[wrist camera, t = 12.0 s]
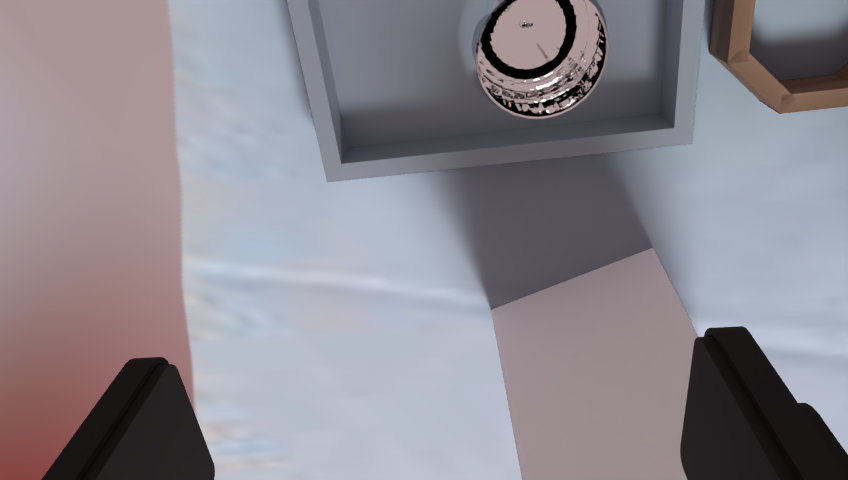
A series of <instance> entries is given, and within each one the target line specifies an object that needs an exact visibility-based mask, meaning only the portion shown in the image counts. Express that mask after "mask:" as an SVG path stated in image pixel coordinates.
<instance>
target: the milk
mask: <svg viewBox="0 0 848 480" xmlns="http://www.w3.org/2000/svg"><path fill="white" fill-rule="evenodd" d="M491 312H492V318H493V323H494V329H495V334H496V340H497V345H498V350H499V356H500V361H501V367H502V372H503V378H504V383H505V389H506V394H507V400H508V405H509V410H510V416H511V421H512V427H513V432H514V438H515V443H516V449H517V454H518V460H519V465H520V471H521V476H522V480H687V477H686V475H685V472H684V469H683V466H682V462H681V456H680V445H681V437H682V430H683V422H684V414H685V407H686V399H687V392H688V384H689V377H690V369H691V362H692V354H693V347H694V341H695V339H696V338H697V337H698V335H697V333H696V331H695V329H694V327H693V325H692V323H691V321H690V319H689V317H688V315H687V313H686V311H685V309H684V307H683V305H682V303H681V302H680V300H679V298H678V296H677V294H676V292H675V290H674V288H673V286H672V284H671V282H670V280H669V278H668V276H667V274H666V272H665V270H664V268H663V266H662V264H661V262H660V261H659V259H658V257H657V255H656V253H655V251H654V249H653V248H650V249H648V250H645V251H643V252H640V253H637V254H635V255H632V256H630V257H627V258H624V259H622V260H619V261H617V262H614V263H611V264H609V265H606V266H603V267H601V268H598V269H596V270H593V271H590V272H588V273H585V274H583V275H580V276H577V277H575V278H572V279H570V280H567V281H564V282H562V283H559V284H557V285H554V286H551V287H549V288H546V289H544V290H541V291H538V292H536V293H533V294H531V295H528V296H525V297H523V298H520V299H518V300H515V301H512V302H510V303H507V304H505V305H502V306H499V307H497V308H494V309H492V310H491Z"/></svg>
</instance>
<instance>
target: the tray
mask: <svg viewBox="0 0 848 480" xmlns="http://www.w3.org/2000/svg"><path fill="white" fill-rule="evenodd" d="M466 1H467V0H287V4H288V8H289V13H290V17H291V22H292V26H293V31H294V35H295V40H296V44H297V49H298V53H299V58H300V62H301V67H302V71H303V76H304V80H305V85H306V89H307V94H308V98H309V103H310V107H311V112H312V116H313V121H314V125H315V130H316V134H317V139H318V143H319V148H320V152H321V157H322V161H323V166H324V170H325V175H326V179H327V182H334V181H344V180H353V179H363V178H372V177H382V176H391V175H401V174H410V173H420V172H430V171H439V170H449V169H458V168H468V167H477V166H487V165H496V164H506V163H515V162H525V161H534V160H544V159H553V158H563V157H572V156H582V155H591V154H601V153H610V152H620V151H630V150H639V149H649V148H658V147H668V146H677V145H687V144H692V141H693V130H694V118H695V107H696V96H697V85H698V73H699V62H700V51H701V40H702V29H703V17H704V6H705V0H601V1H602V3H603V6H604V8H605V11H606V14H607V18H608V26H609V35H610V44H609V52H608V59H607V62H606V66H605V70H604V72H603V74H602V77H601V79H600V80H599V82H598V84H597V85H596V87H595V88H594V90H593V91H592V92H591V94H590V95H589V96H588V97H587V98H586V99H585V100H583V101H582V102H581V103H579V104H578V105H577V106H575V107H574V108H573V109H571V110H569V111H567V112H564V113H562V114H560V115H558V116H553V117H549V118H544V119H528V118H524V117H520V116H516V115H513V114H510V113H508V112H505V111H503V110H502V109H500V108H499V107H497V106H495V105H493V104H492V103H491V102H490V101H489V100H487V99H486V98H485V97H484V96H483V95H482V94H481V93H480V92H479V91H478V90H477V88H476V87H475V86H474V85H473V84H472V82H471V80H470V78H469V77H468V75H467V73H466V71H465V69H464V66H463V64H462V61H461V57H460V53H459V46H458V27H459V21H460V17H461V13H462V10H463V7H464V5H465V3H466Z"/></svg>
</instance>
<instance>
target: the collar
mask: <svg viewBox="0 0 848 480" xmlns="http://www.w3.org/2000/svg"><path fill="white" fill-rule="evenodd" d="M754 8H755V0H715V1H714V12H713V22H712V33H711V43H710V54H711V55H713V56H714V57H715V58H716V59H717V60H718V61H719V62H720V63H721V64H722V65H723V66H724V67H725V68H726V69H727V70H728V71H730V72H731V73H732V74H733V75H734V76H735V77H736V78H737V79H738V80H739V81H740V82H741V83H742V84H743V85H744V86H745V87H746V88H747V89H748V90H749V91H750V92H752V93H753V94H754V95H755V96H756V97H757V98H758V99H759V101H761V102H762V103H764V104H765V105H767V106H768V107H770V108H771V109H773V110H775V111H776V112H778V113H779V114H781V113H790V112H799V111H808V110H817V109H827V108H836V107H845V106H848V63H847V64H846V65H845V66H844V67H843V68H841V69H840V70H839V71H838V72H837V73H836V74H835V75H827V76H818V77H809V78H800V79H791V80H782V81H777V80H776V79H775V78H774V77H773V76H772V75H771V74H770V73H769V72H768V71H767V70H766V69H765V68H764V67H763V66H762V65H761V64H760V63H759V62H758V61H757V60H756V59H755V58H754V57H753V56H752V55H751V54H750V53H749V48H750V40H751V32H752V24H753V16H754Z"/></svg>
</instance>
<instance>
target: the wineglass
mask: <svg viewBox="0 0 848 480" xmlns="http://www.w3.org/2000/svg"><path fill="white" fill-rule="evenodd" d="M609 44H610V35H609V26H608V18H607V14H606V11H605V8H604V6H603V3H602V1H601V0H467V1H466V3H465V5H464V7H463V10H462V13H461V17H460V21H459V27H458V46H459V53H460V57H461V61H462V64H463V66H464V69H465V71H466V73H467V75H468V77H469V78H470V80H471V82H472V84H473V85H474V86H475V87H476V88H477V90H478V91H479V92H480V93H481V94H482V95H483V96H484V97H485V98H486V99H487V100H489V101H490V102H491V103H492V104H493V105H495V106H497V107H499V108H500V109H502V110H503V111H505V112H508V113H510V114H513V115H516V116H520V117H524V118H528V119H544V118H549V117H553V116H558V115H560V114H562V113H564V112H567V111H569V110H571V109H573V108H574V107H575V106H577V105H578V104H579V103H581V102H582V101H583V100H585V99H586V98H587V97H588V96H589V95H590V94H591V92H592V91H593V90H594V88H595V87H596V85H597V84H598V82H599V80H600V79H601V77H602V74H603V72H604V70H605V66H606V62H607V59H608V52H609Z"/></svg>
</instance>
